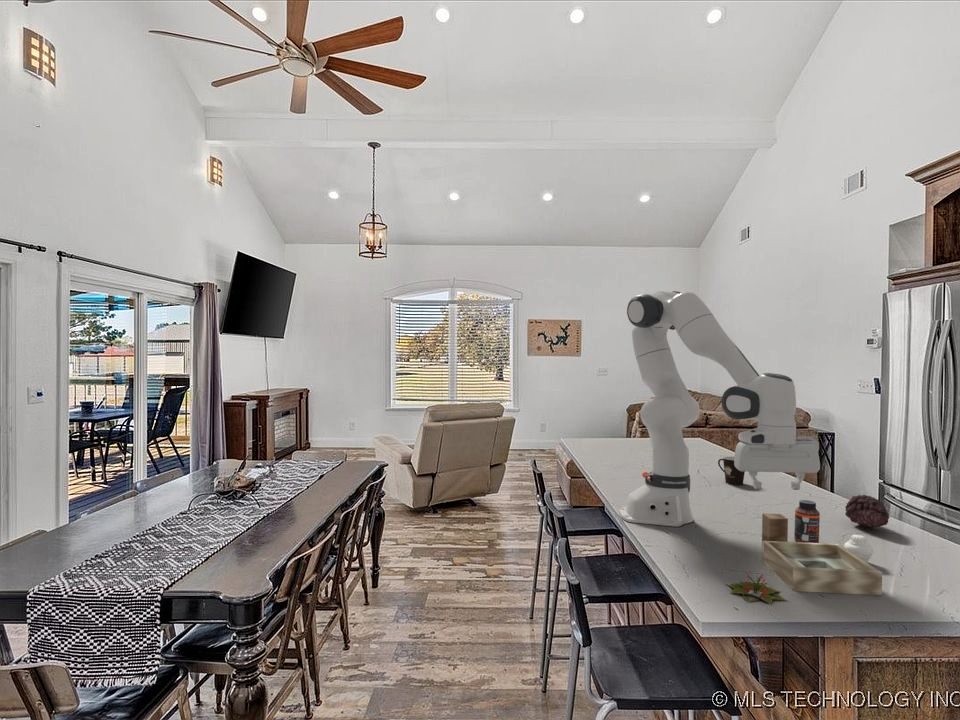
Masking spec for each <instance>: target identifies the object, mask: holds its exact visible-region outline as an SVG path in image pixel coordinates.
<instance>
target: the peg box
mask: <svg viewBox="0 0 960 720" xmlns="http://www.w3.org/2000/svg"><path fill="white" fill-rule="evenodd" d="M761 561H762V562H763V563H764V564H765V565H766V566H767V567H769V569H771V570H772V572H773V573H775V574H776V575H777V576H778V577H779V578H780V579H781V580H782V581H784V583H785V584H787V585H788V586H789V587H790V588H791V589H792V590H793V591H794V592H805V593H807V592H809V593H811V592H812V593H828V594H829V593H830V594H846V595H847V594H848V595H866V596H867V595H868V596H869V595H870V596H883V572H882V571H880V570H879V569H878V568H876V567H874V566H872V565H871V564H869V563H868V562H865V561H864V560H862V559H860V558H859V557H857V556H856V555H854V554H853V553H851V552H850V551H848V550H846V549H845V548H844V546H842V545H840V544H839V543H828V542H827V543H824V542H821V543H820V542H819V543H804V542H797V541H787V542H780V541H762V540H761Z"/></svg>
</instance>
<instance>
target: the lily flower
mask: <svg viewBox="0 0 960 720" xmlns="http://www.w3.org/2000/svg"><path fill="white" fill-rule="evenodd" d="M749 572H750V574H751V575H753V573H752V571H751V570H750V571H749ZM756 575H758V572H757V573H756ZM745 577H748V578H749V579H747V578H746V579H745V580H746V581H739V583H726V584H725V585H726V586H729V587H730V588H732V591H731V592H730V593H729V594H731V595H732V594H742V596H743V598H744V600H745V601H746V603H749V602H750V603H751V602H755V601H759V600H761V599H762V600H763V601H765V602H766V603H768V604H769V605H771V606H772V604H773V603H772V601H773V600H777V601H787V602H788V600H787V599H785V598H784V597H782V595H780V594H777V593H781V591H780V590H778V589H774V588H773V587H770V586H767V584H768V582H766V579H764V576H763V574H761V575H760V576H759V577H756V579H754V577H751V576H750V575H749V574H748V572H745ZM763 579H764V580H763ZM750 580H751V581H750ZM762 580H763V581H762ZM761 581H762V582H761ZM751 591H753V593H754V594H752V593H750V592H751ZM758 592H759V593H761V594H760V595H757V594H758ZM749 596H753V597H756V598H751V599H750V597H749Z"/></svg>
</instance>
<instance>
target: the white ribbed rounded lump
mask: <svg viewBox="0 0 960 720" xmlns="http://www.w3.org/2000/svg"><path fill="white" fill-rule="evenodd" d="M843 548H845V549H846V550H848V551H850V552H851V553H853V554H854V555H856V556H857V557H859V558H860V559H862V560H864V561H865V562H867V563H868V562H869V560H870V559H871V558H872V556H873V554H874V551H875V550H874V548H873V547H872V545H870V543H869V542H868V538H866V537H865V536H864V535H861V534H852V535H851V536H850V538H849V540H848V541H847V542H845V543H844V545H843Z"/></svg>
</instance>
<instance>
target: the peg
mask: <svg viewBox="0 0 960 720" xmlns="http://www.w3.org/2000/svg"><path fill="white" fill-rule="evenodd" d="M761 515H762V517H761V519H762V520H761V524H762V525H761V542H762V541H780V542H789V541H788V540H789V539H788V537H789V535H788V534H789V533H788V528H789V527H788V526H789V522H788V521H789V518H787V517H785V516H784V515H782V514H781V513H764V512H763V513H762V514H761Z"/></svg>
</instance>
